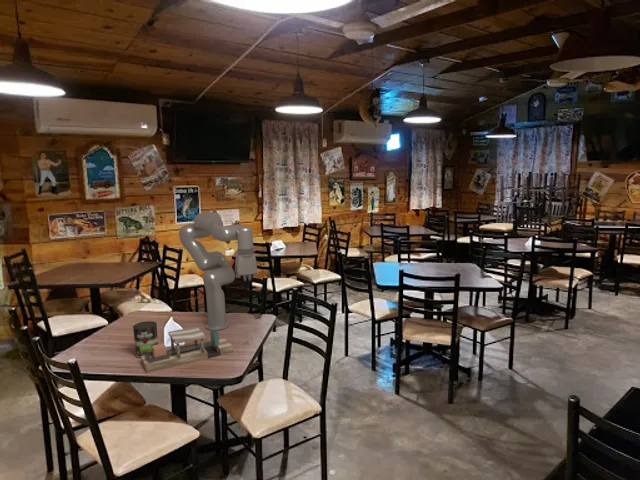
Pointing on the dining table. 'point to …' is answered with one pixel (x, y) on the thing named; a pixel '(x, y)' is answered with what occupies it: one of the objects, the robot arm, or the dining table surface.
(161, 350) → the block
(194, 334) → the tunnel
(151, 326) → the coffee can
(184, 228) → the robot arm
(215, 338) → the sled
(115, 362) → the dining table surface
